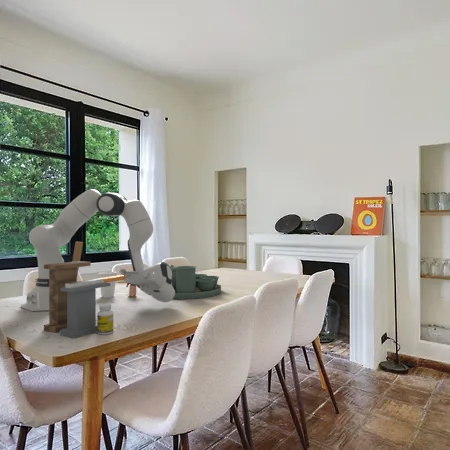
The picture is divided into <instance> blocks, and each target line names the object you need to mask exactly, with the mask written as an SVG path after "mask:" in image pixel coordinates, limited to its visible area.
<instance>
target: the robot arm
mask: <svg viewBox="0 0 450 450" xmlns="http://www.w3.org/2000/svg"><path fill="white" fill-rule="evenodd" d="M98 212H99V213H101V214H102V215H103V216H106V217H122V218H123V219H124V221H125V223H126V226H127V228H128V232H129V238H128V240H127V248H128V249H127V250H128V254H129V258H130V261H131V262H130V263H131V267H132V270H126V269H125V268H123V267H122V268H120V269H119V273H120V274H119V275H125V280H123V282H125V283H130V284H136V288H138V289H139V290H140V291H141V292H143V293H145V294H146V295H148V296H150V297H152V298H153V299H155V300H156V301H159V302H160V303H168V302H171V301H172V300H174V299H173V298H174V296H175V290H174V288H173V286H172V279H173V271H172V269H171V265H169V264H168V263H167V262H164V261H161V262H158V263H155V264H153V265H151V266H148V267H145V265H144V262H143V258H142V257H143V256H142V252H141V251H142V248H143V246H144V245H145V243H146V242H147V241H149V240H150V238H151V236H152V235H153V233H154V224H153V222H152V220H151V217H150V214H149V212H148V211H147V209H146V207H145V206H144V204H143V202H142V201H140V200H138V199H132V200H131V199H130V200H128V199H127V198H126V197H125V196H123V195H122V194H120V193H117V192H109V191H108V192H103V193H102V194H101V193H100V192H99V191H98V190H97V189H93V188H90V189H88V190H85V191H84V192H82V193H81V194H79V195H77V197H75V198H74V199H73V200H72V201H70V203H69V204H67V205H66V206H65V207H64V208H63V209H62V210H61V211H60V212H59V216H58V217H57V219H55V221H54V222H53V223H51V224H40V225H37V226H35V227H33V228H32V229H31V230H30V232H29V235H28V240H29V242H30V244H31V245H32V246H33V249H34V251H35V254H36V258H37V271H38V272H37V279H35V280H34V281H35V287H34V288H33V289H32V290H30V291H29V292H28V293H27V295H26V303H23V304H21V305H20V307H21V308H22V309H24V310H27V311H30V312H41V311H49V269H44V265H45V264H55V263H65V260H64V258H63V256H62V253H61V250H60V248H62V247H63V246H66V245H67V244H68V243H70V241H71V239H72V237H73V236H74V235H75V234H76V232H77V231H78V230H79V228H81V227H82V226H83V225H84V224H85V223H86V222H87V221H89V220H90V219H91V218H92V217H93V216H94V215H96V214H97V213H98ZM130 284H129V285H130Z"/></svg>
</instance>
